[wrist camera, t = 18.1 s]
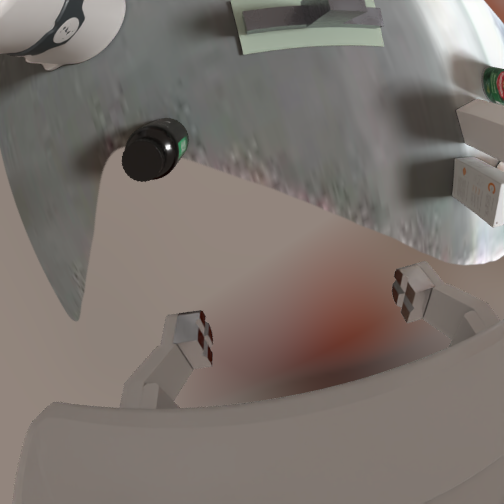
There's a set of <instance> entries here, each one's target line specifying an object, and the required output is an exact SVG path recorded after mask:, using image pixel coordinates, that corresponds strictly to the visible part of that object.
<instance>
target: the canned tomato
mask: <svg viewBox="0 0 504 504" xmlns="http://www.w3.org/2000/svg"><path fill="white" fill-rule="evenodd" d="M482 86H483V90H484V93H485V95H486V97H487V98H488V99H489V101H491V102H492V103H495V104H499V105H502V106H504V69H501V68H495V67H490V66H489V67H486V68H485V69H484V71H483V74H482Z"/></svg>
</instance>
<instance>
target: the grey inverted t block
mask: <svg viewBox="0 0 504 504" xmlns="http://www.w3.org/2000/svg"><path fill="white" fill-rule="evenodd" d="M300 3H301V5H299V6H284V7H273V8H264V9H256V10H249V11H243V13H242V18H243V22H244V27H245V31H246V35H249V34H255V33H262V32H270V31H279V30H289V29H302V28H327V27H344V28H369V29H376V28H380V27H383V26H384V24H383V19H382V15H381V11H380V8H373V7H366V4H365V0H302V1H301V2H300Z"/></svg>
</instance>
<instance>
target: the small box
mask: <svg viewBox="0 0 504 504" xmlns="http://www.w3.org/2000/svg"><path fill="white" fill-rule="evenodd" d="M452 196H453V197H454V198H456V199H457V200H458V201H460V202H461V203H462V204H464V205H465V206H466V207H468V208H469V209H470V210H472V211H473V212H474V213H476V214H477V215H478V216H479V217H481V218H482V219H483V220H484V221H486V222H487V223H488V224H489V225H490V226H492V227H493V228H494V227H497V226H501V225H504V172H502V171H500V170H498V169H497V168H495V167H493V166H491V165H489V164H487V163H486V162H484V161H482V160H480V159H478V158H476V157H466V158H455V164H454V180H453V191H452Z"/></svg>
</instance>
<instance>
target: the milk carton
mask: <svg viewBox="0 0 504 504" xmlns="http://www.w3.org/2000/svg"><path fill="white" fill-rule="evenodd" d="M456 113H457V116H458V120H459V123H460V126H461V130H462V134H463V138H464V141H465V144H467V145H469V146H471V147H474V148H476V149H478V150H480V151H482V152H484V153H486V154H488V155H490V156H492V157H494V158H496V159H498V160H500V161H502V162H503V163H504V106H502V105H499V104H495V103H492V102H488V101H484V100H481V99H475V100H474V101H472V102H470V103H468V104H466V105H464V106H462V107H461V108H459V109H457V110H456Z"/></svg>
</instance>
